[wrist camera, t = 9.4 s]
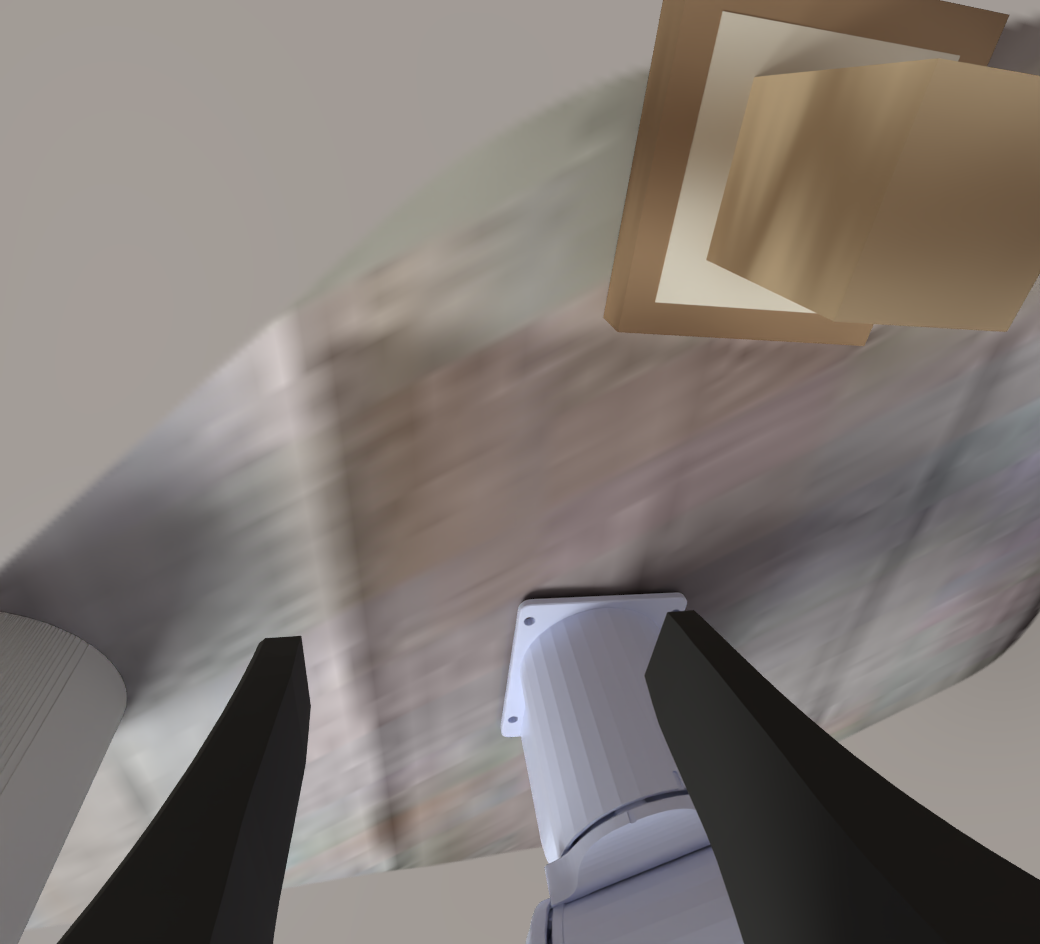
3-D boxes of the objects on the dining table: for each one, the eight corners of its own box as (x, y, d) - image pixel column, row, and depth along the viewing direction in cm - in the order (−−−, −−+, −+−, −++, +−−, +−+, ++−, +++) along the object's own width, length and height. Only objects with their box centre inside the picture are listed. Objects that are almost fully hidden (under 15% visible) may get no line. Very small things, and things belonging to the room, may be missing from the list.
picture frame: (836, 331, 21) (865, 346, 19) (603, 317, 19) (618, 332, 18) (962, 22, 16) (1011, 14, 15) (670, -38, 14) (697, -52, 13)
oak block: (837, 270, 18) (1007, 332, 13) (705, 259, 17) (834, 321, 12) (901, 99, 15) (1141, 93, 10) (754, 76, 15) (939, 58, 10)
